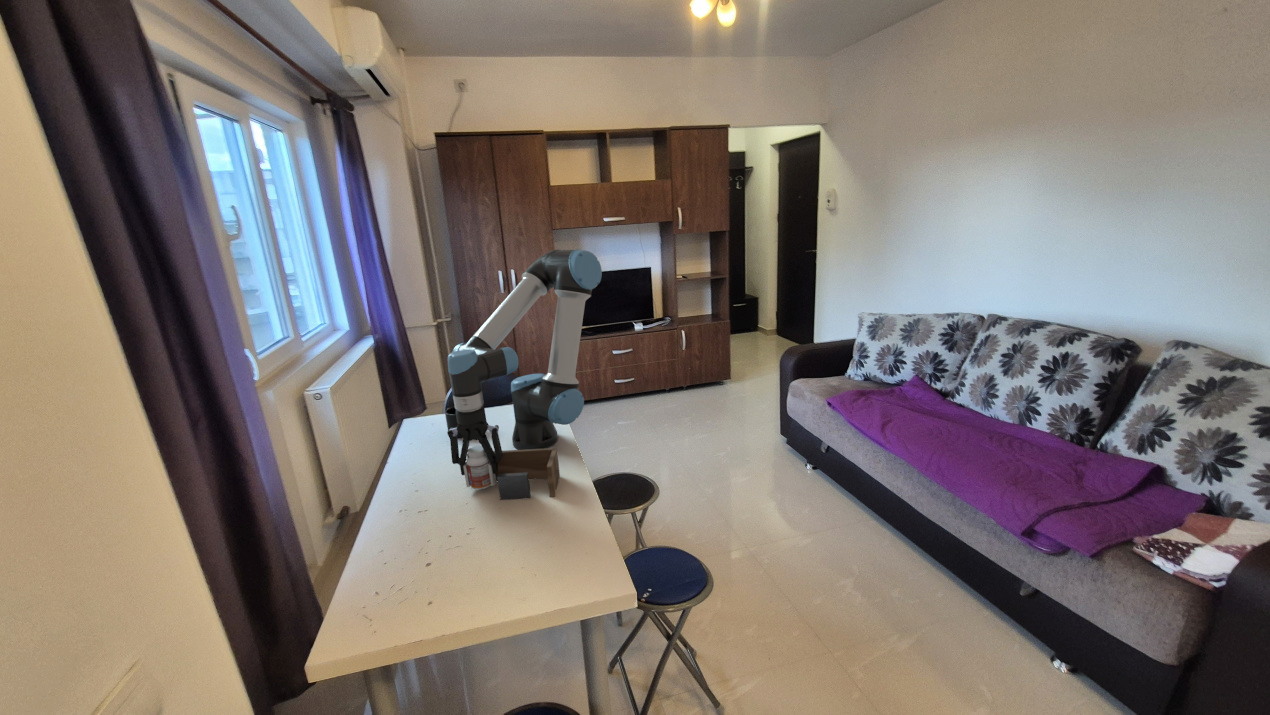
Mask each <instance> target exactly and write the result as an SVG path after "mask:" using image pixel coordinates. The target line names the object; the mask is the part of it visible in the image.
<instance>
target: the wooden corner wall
mask: <svg viewBox="0 0 1270 715" xmlns="http://www.w3.org/2000/svg"><path fill="white" fill-rule="evenodd" d="M493 451H494V450H493ZM494 453H495V451H494ZM502 453H503V457H502V459H501V461H499V462H497V465H498V471H497V473H496V474H495V475H496V482H498V480H497V476H498V474H507V473H526V472H528V477H529V481H530V480H546V479H547V481H548V491H549V498H554V497H555V496H556V492H557V490H558V485H559V481H560V478H561V475H560V474H561V473H560V466H559V454H558V448H557V447H547V448H544V449H526V450H519V449H513V450H512V449H511V450H502ZM468 457H469V456H468V453H467V458H468ZM467 458H466V459H467Z"/></svg>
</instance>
